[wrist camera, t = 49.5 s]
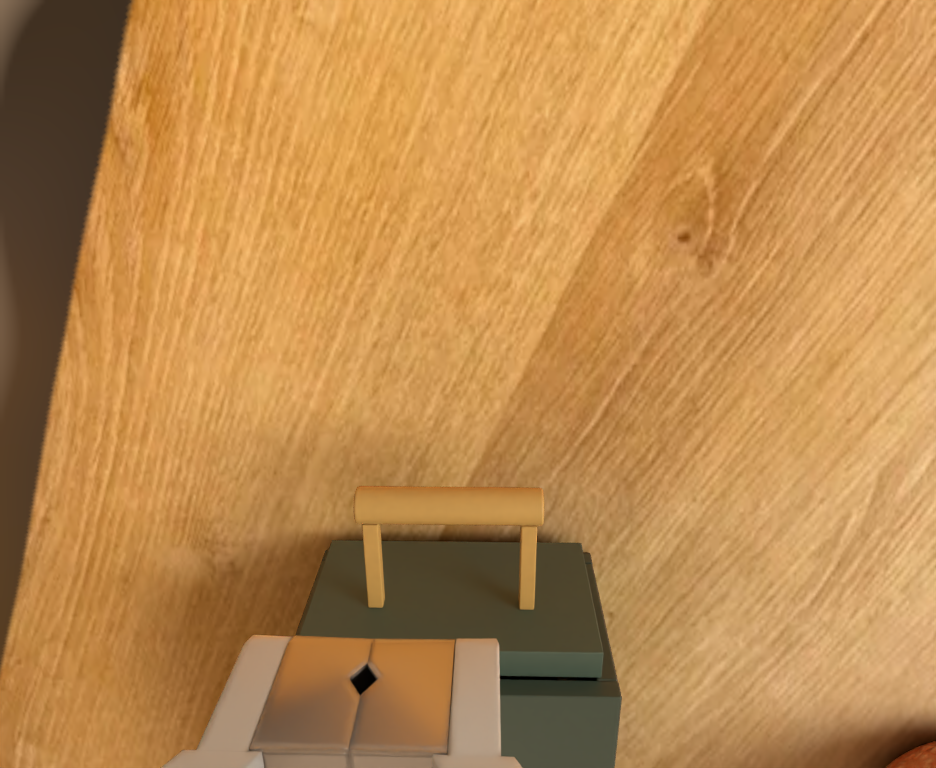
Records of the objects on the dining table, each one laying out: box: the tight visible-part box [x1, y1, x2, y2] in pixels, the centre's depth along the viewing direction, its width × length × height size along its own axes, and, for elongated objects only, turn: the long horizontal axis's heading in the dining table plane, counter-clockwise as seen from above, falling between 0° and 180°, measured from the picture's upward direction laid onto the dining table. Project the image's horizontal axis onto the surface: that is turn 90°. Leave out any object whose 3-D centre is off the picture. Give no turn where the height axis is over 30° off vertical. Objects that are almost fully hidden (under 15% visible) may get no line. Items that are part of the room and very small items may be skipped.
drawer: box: [299, 486, 604, 681], centre depth 30 cm, size 19×11×7 cm, turn 0°
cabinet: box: [295, 550, 622, 768], centre depth 32 cm, size 15×13×9 cm
